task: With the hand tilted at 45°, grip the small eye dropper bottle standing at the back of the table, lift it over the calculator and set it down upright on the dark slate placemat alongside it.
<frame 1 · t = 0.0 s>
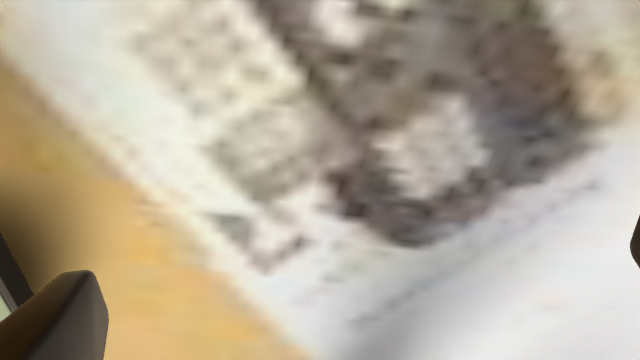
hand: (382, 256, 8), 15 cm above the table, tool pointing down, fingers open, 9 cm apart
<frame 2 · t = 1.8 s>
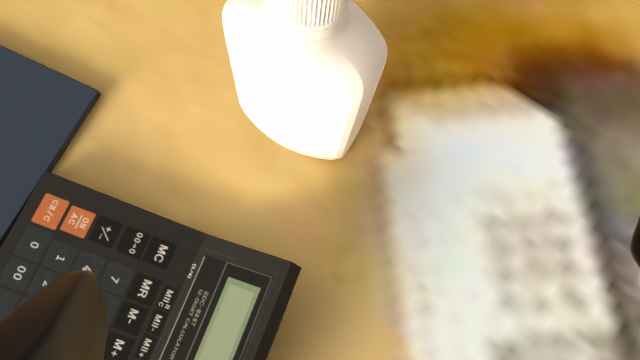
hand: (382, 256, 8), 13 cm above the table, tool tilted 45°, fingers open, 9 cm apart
eye dropper bottle: (299, 118, 23), on the table
calculator: (128, 328, 20), on the table
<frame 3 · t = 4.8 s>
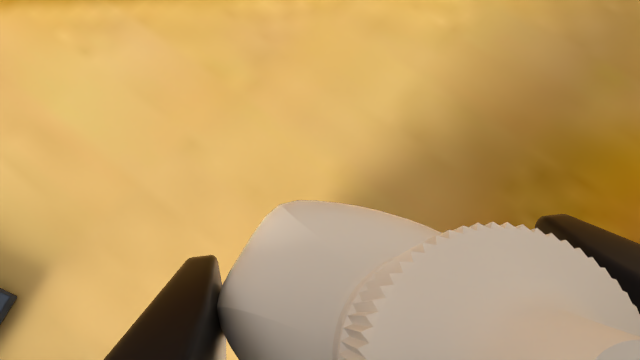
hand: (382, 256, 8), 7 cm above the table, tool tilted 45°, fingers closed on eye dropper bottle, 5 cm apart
eye dropper bottle: (345, 331, 14), on the table, touching gripper
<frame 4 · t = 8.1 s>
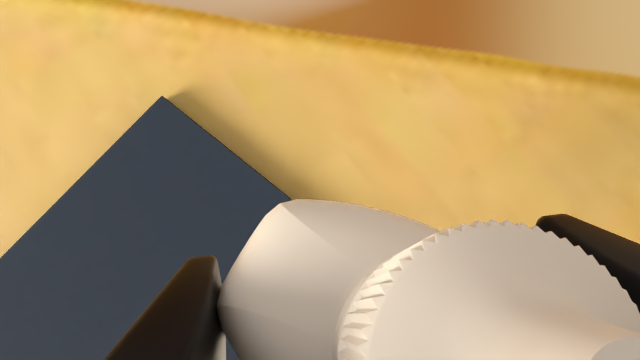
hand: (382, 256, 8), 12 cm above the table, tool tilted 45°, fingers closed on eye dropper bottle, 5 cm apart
eye dropper bottle: (345, 330, 14), point 5 cm above the table, touching gripper
when the fingers open (7 cm above the table, at t = 11.6 s): eye dropper bottle stays where it is, resting on placemat.
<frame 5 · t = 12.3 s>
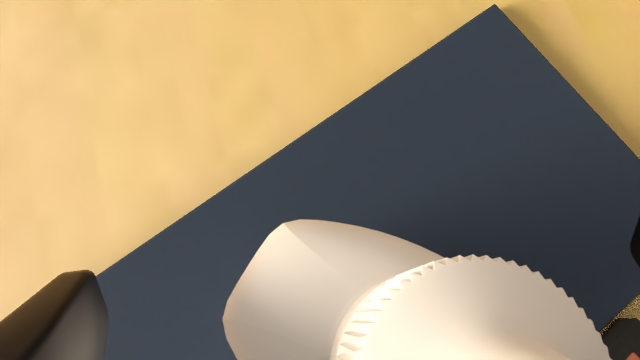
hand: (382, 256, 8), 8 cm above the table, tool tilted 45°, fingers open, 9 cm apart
placemat: (359, 297, 15), on the table
eye dropper bottle: (344, 338, 15), resting on placemat
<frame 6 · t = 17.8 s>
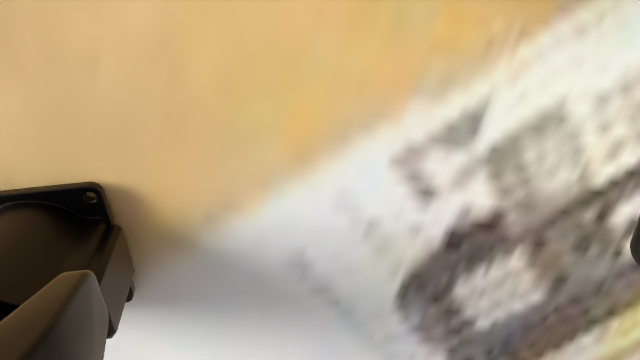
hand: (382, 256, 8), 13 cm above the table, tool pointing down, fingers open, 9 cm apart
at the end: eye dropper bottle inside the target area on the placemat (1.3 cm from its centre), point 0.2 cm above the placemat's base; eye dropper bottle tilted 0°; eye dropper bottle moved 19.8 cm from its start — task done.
